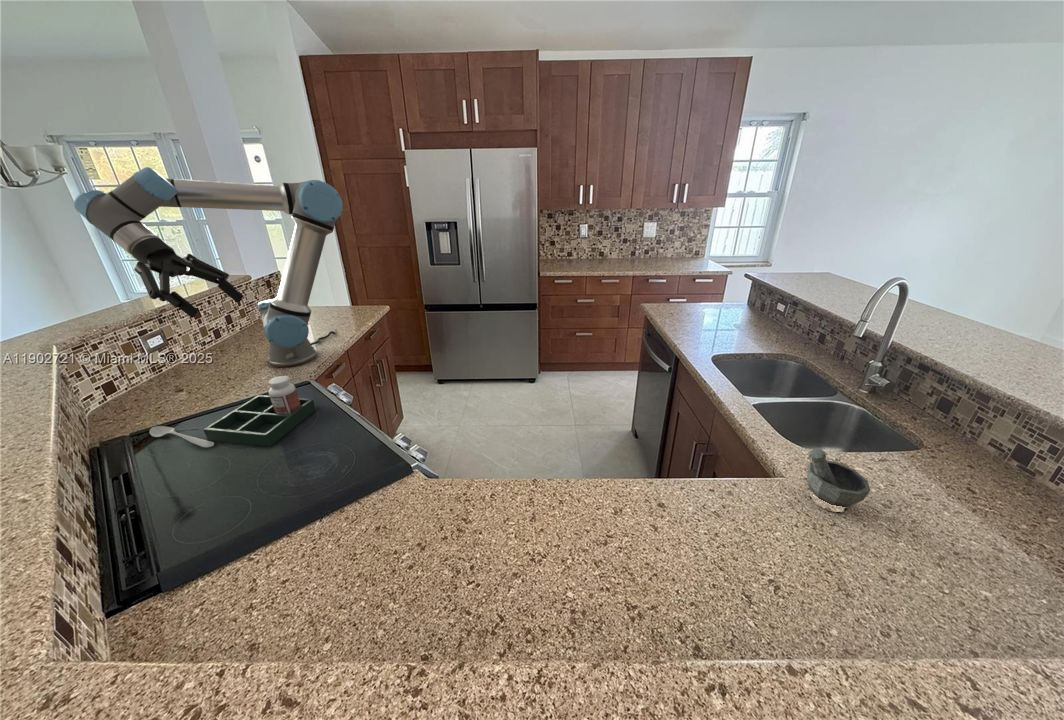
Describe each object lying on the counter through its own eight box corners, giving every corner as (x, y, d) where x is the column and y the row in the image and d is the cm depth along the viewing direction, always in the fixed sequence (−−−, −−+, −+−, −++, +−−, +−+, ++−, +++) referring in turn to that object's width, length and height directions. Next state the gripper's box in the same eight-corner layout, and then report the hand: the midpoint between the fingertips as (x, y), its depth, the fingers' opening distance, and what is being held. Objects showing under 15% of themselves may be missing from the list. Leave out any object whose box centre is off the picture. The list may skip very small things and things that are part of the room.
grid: (262, 404, 109) (258, 394, 108) (316, 409, 107) (313, 399, 106) (207, 440, 94) (202, 429, 92) (269, 446, 92) (265, 435, 90)
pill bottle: (300, 406, 108) (290, 372, 103) (304, 415, 103) (294, 380, 99) (275, 413, 104) (263, 378, 99) (278, 423, 100) (266, 387, 95)
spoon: (163, 427, 99) (161, 422, 98) (221, 441, 94) (219, 436, 93) (145, 436, 95) (142, 431, 94) (204, 451, 90) (201, 445, 89)
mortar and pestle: (843, 489, 79) (864, 444, 74) (867, 524, 71) (892, 476, 66) (784, 480, 82) (801, 436, 77) (801, 512, 74) (821, 465, 69)
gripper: (188, 250, 107) (251, 302, 111) (82, 266, 84) (166, 331, 89) (197, 231, 104) (262, 286, 108) (90, 242, 81) (177, 310, 86)
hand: (219, 306), depth 99 cm, fingers open, 13 cm apart
